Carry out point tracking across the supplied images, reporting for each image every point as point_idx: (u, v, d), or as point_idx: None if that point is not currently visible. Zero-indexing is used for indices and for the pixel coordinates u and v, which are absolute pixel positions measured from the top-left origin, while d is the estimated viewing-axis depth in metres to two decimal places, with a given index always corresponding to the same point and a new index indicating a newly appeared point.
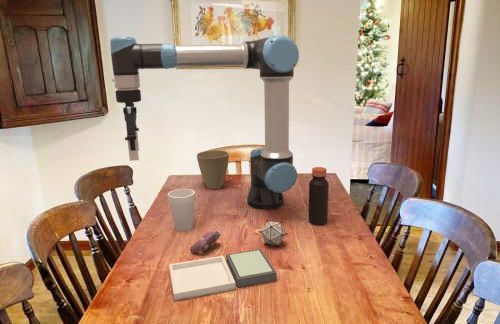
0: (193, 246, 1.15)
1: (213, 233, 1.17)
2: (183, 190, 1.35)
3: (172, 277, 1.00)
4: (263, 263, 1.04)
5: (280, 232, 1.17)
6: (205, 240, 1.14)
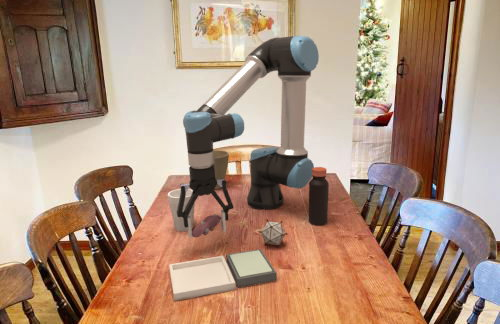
0: (194, 230, 1.15)
1: (214, 217, 1.17)
2: None
3: (172, 277, 1.00)
4: (263, 263, 1.04)
5: (280, 232, 1.17)
6: (206, 223, 1.14)
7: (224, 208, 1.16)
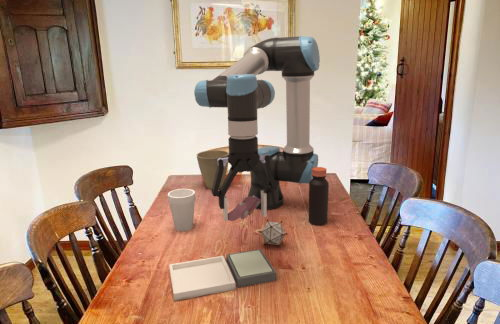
0: (231, 212, 0.99)
1: (254, 198, 1.01)
2: (183, 190, 1.35)
3: (172, 277, 1.00)
4: (263, 263, 1.04)
5: (280, 232, 1.17)
6: (245, 205, 0.98)
7: (266, 188, 1.00)
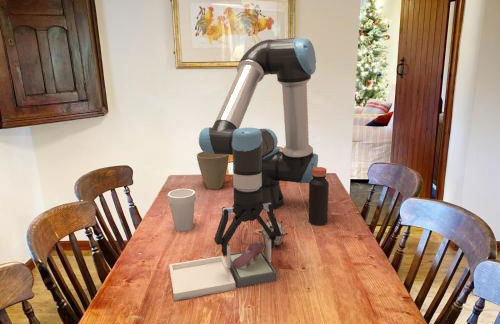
0: (237, 260, 1.01)
1: (258, 245, 1.04)
2: (183, 190, 1.35)
3: (172, 277, 1.00)
4: (263, 263, 1.04)
5: None
6: (251, 253, 1.00)
7: (271, 235, 1.03)
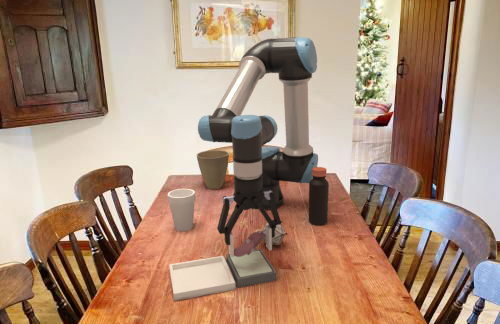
0: (237, 249, 1.01)
1: (259, 234, 1.03)
2: (183, 190, 1.35)
3: (172, 277, 1.00)
4: (263, 263, 1.04)
5: (280, 232, 1.17)
6: (252, 242, 1.00)
7: (271, 224, 1.03)
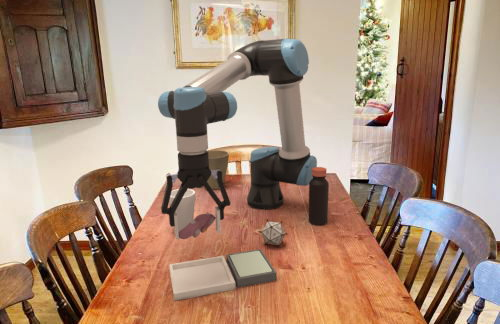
0: (182, 231, 0.95)
1: (207, 216, 0.97)
2: None
3: (172, 277, 1.00)
4: (263, 263, 1.04)
5: (280, 232, 1.17)
6: (197, 223, 0.94)
7: (219, 204, 0.97)
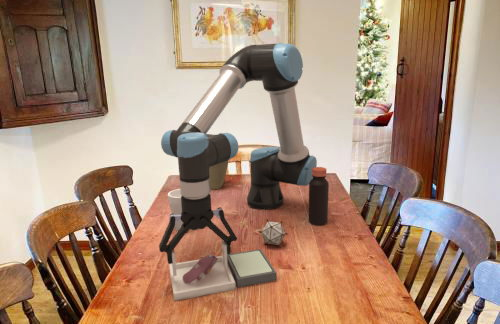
0: (186, 275, 0.98)
1: (209, 258, 1.01)
2: None
3: (172, 277, 1.00)
4: (263, 263, 1.04)
5: (280, 232, 1.17)
6: (200, 267, 0.97)
7: (226, 240, 1.00)
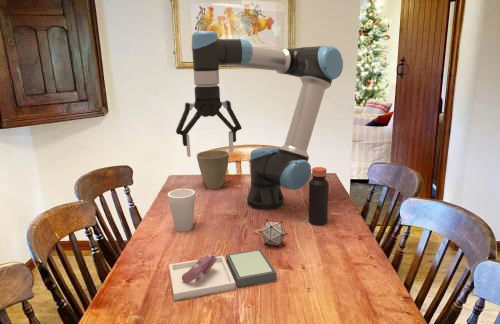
0: (185, 274, 0.98)
1: (209, 258, 1.01)
2: (183, 190, 1.35)
3: (172, 277, 1.00)
4: (263, 263, 1.04)
5: (280, 232, 1.17)
6: (200, 267, 0.98)
7: (232, 128, 1.18)
